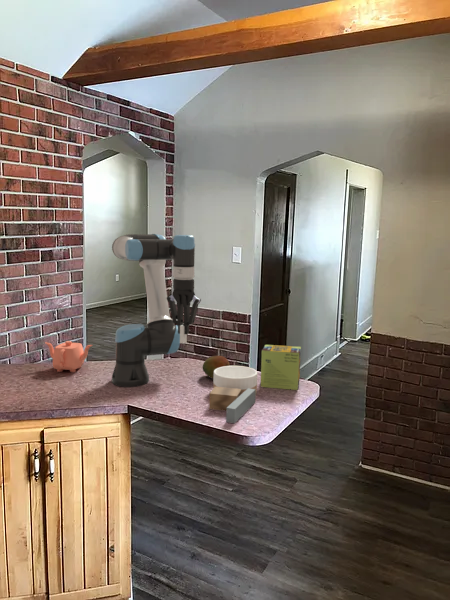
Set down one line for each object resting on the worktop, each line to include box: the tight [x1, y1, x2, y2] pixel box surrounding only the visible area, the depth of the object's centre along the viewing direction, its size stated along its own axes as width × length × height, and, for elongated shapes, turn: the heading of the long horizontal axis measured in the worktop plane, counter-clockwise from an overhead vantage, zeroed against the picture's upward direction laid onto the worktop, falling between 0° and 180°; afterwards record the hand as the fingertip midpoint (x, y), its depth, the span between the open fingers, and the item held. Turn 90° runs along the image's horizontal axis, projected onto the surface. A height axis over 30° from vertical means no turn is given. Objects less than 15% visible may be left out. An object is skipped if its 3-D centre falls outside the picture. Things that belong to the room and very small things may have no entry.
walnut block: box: [208, 386, 242, 412], centre depth 187 cm, size 10×8×6 cm
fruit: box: [202, 355, 231, 379], centre depth 220 cm, size 12×13×10 cm
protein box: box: [260, 344, 302, 391], centre depth 212 cm, size 10×15×16 cm
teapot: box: [44, 340, 93, 373], centre depth 228 cm, size 15×17×13 cm
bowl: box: [212, 365, 258, 395], centre depth 203 cm, size 17×17×8 cm
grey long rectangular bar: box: [225, 388, 257, 424], centre depth 182 cm, size 3×22×5 cm, turn 159°
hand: (183, 342), depth 189 cm, fingers closed
